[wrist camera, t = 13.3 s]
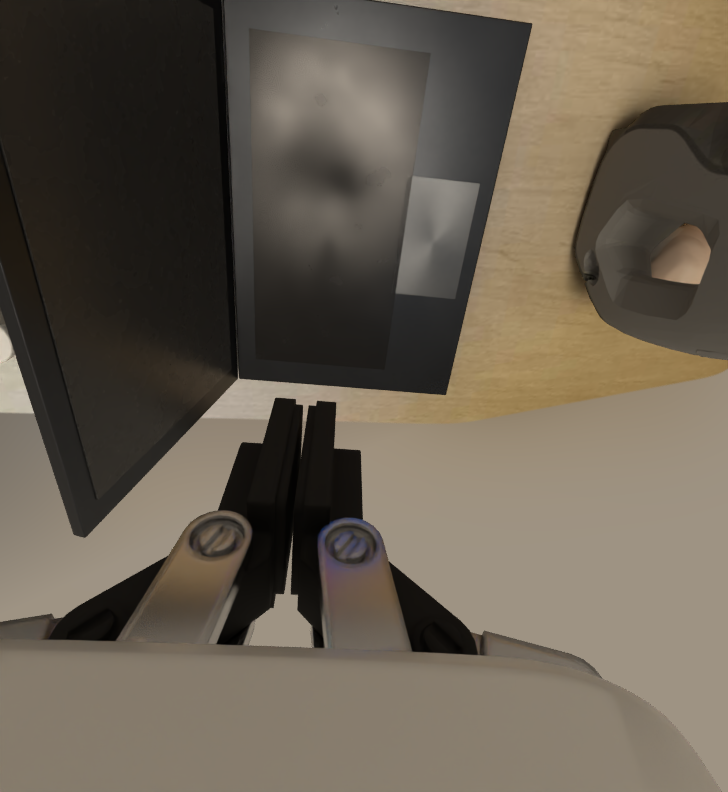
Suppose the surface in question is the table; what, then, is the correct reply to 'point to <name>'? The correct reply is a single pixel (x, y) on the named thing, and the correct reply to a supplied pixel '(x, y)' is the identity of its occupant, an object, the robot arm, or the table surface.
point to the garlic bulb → (681, 256)
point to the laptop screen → (115, 232)
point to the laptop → (361, 183)
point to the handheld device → (660, 227)
